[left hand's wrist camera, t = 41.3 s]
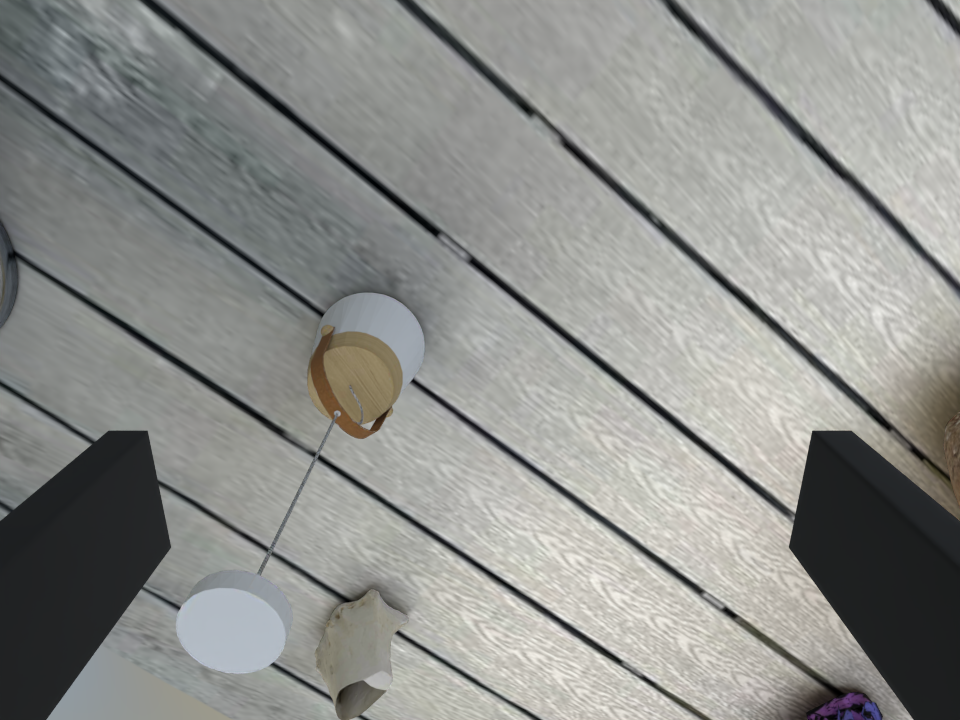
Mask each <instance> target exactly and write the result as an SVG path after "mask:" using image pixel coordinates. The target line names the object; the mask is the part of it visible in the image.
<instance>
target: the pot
mask: <svg viewBox="0 0 960 720" xmlns="http://www.w3.org/2000/svg"><path fill="white" fill-rule="evenodd" d="M943 447H944V452H945V457H946V462H947V467H948V471H949V475H950V479H951V483H952V487H953V491H954V494H955V496H956V499H957V502H958V505H959V508H960V411H959V412H958V413H957V414H956V415H955V416H954V417H953V418H952V419H951V420H950V421H949V422H948V424H947V425H946V429H945V436H944V445H943Z"/></svg>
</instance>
